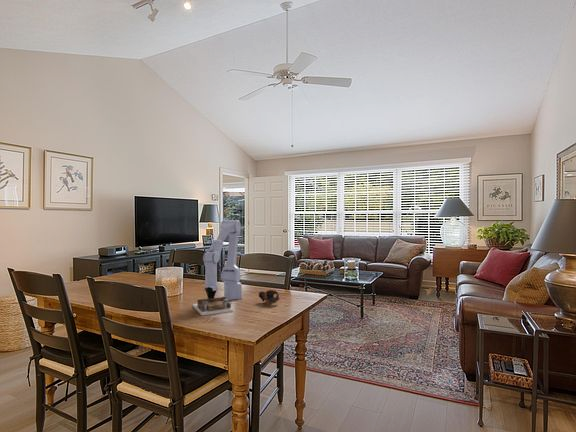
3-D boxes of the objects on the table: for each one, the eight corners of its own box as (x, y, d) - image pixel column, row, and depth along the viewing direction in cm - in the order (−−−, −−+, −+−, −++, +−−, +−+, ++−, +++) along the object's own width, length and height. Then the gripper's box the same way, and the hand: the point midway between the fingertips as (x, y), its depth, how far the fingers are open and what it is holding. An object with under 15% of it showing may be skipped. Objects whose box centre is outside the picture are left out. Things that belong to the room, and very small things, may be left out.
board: (221, 302, 179) (221, 293, 179) (232, 311, 164) (232, 300, 164) (192, 306, 172) (192, 296, 172) (201, 315, 156) (202, 304, 156)
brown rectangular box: (224, 303, 173) (225, 296, 173) (230, 307, 165) (230, 300, 165) (197, 306, 166) (197, 299, 166) (202, 311, 158) (202, 303, 158)
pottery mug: (281, 302, 183) (282, 291, 179) (274, 314, 175) (275, 302, 171) (261, 295, 186) (262, 284, 182) (253, 306, 179) (254, 295, 175)
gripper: (199, 273, 175) (199, 299, 175) (207, 278, 162) (206, 306, 162) (212, 272, 178) (212, 298, 178) (221, 277, 165) (221, 304, 165)
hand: (210, 302), depth 170 cm, fingers closed
